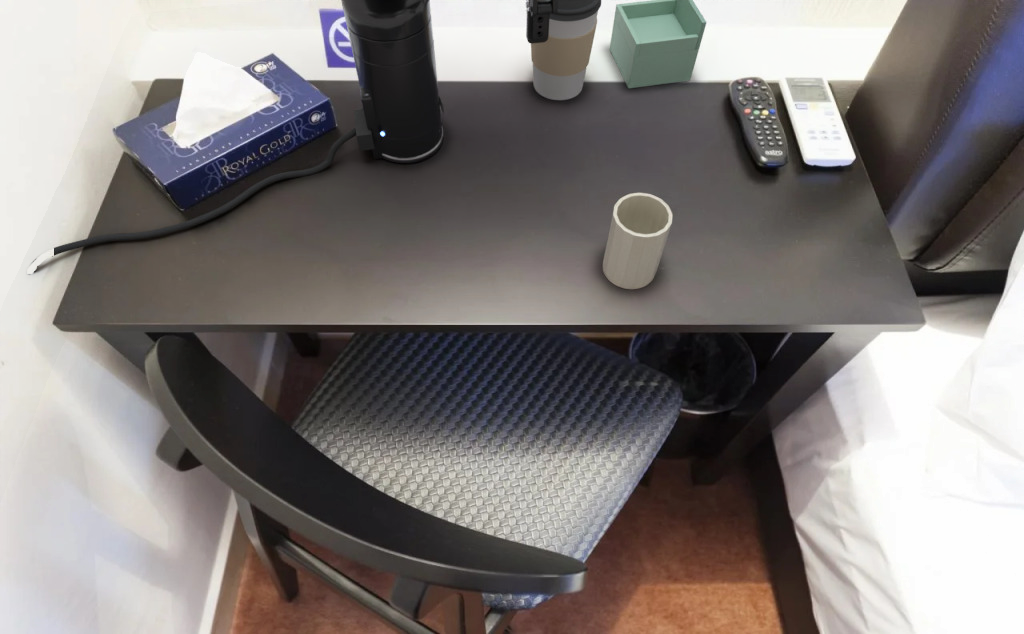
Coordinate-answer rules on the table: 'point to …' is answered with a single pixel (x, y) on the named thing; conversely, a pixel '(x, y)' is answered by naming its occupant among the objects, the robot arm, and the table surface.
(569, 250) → the table surface
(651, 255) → the cup
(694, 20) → the mint green open box
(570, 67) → the coffee cup
